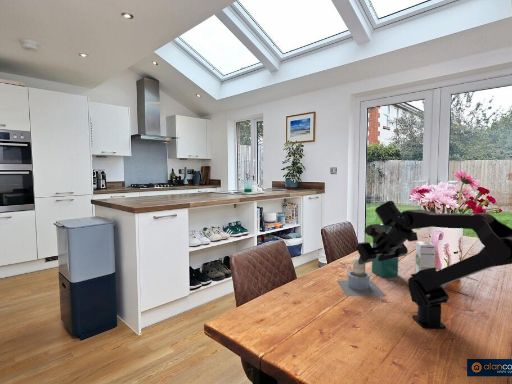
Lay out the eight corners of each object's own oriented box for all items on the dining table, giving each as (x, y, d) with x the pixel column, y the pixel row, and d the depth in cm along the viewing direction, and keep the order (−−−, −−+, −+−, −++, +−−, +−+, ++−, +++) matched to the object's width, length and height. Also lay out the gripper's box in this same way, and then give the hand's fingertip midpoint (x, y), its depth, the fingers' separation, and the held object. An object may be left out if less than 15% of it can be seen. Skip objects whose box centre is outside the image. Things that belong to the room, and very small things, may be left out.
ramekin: (372, 290, 107) (372, 278, 107) (350, 289, 107) (351, 277, 107) (365, 281, 115) (365, 270, 115) (345, 281, 115) (345, 270, 115)
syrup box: (435, 280, 117) (436, 245, 116) (419, 279, 118) (420, 244, 117) (429, 275, 122) (431, 241, 121) (414, 274, 124) (415, 241, 123)
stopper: (364, 287, 108) (365, 260, 108) (351, 285, 110) (352, 259, 109) (365, 283, 112) (366, 257, 112) (353, 281, 114) (353, 255, 113)
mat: (386, 297, 102) (386, 296, 102) (346, 296, 103) (346, 295, 102) (372, 281, 116) (372, 280, 116) (336, 281, 116) (336, 280, 116)
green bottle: (382, 278, 119) (384, 225, 118) (369, 271, 127) (371, 221, 126) (402, 276, 122) (404, 224, 120) (388, 269, 130) (390, 220, 128)
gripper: (401, 215, 104) (376, 240, 114) (360, 219, 96) (337, 245, 107) (421, 242, 97) (392, 266, 108) (378, 248, 89) (352, 273, 100)
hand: (369, 261), depth 106 cm, fingers open, 9 cm apart
